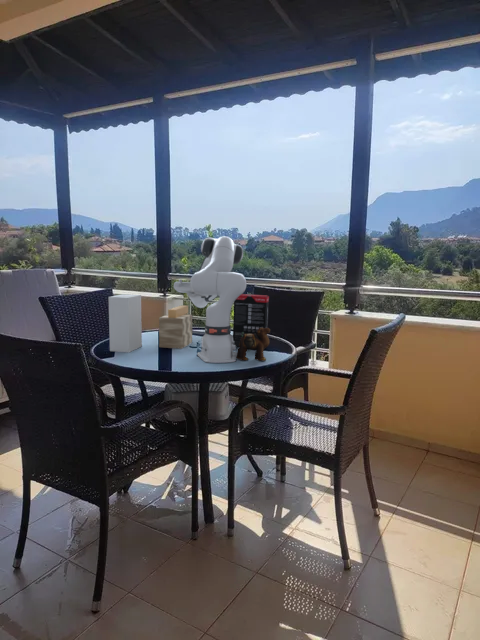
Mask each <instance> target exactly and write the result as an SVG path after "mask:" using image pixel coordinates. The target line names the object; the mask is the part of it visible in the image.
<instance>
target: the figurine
mask: <svg viewBox="0 0 480 640" xmlns="http://www.w3.org/2000/svg"><path fill="white" fill-rule="evenodd" d="M270 333H271V329H270V328H269V327H268V328H259V329H258V330H257V335H258V336H259V337H260V339H261V340H260V339H259V338H258V337H257V336H256V334H243V336H242V337H241V339H240V343H239V347H237V350H236V352H237V357H236V360H240V361H244V362H245V361H249V359H248V357H247V352H248V351H255V354H254V360H257V361H258V362H264V361H266V360H267V358H266V357H265V355H264V350H263V349H264V348H265V349H266V348H268V346H269V345H270V339H269V336H268V334H270Z"/></svg>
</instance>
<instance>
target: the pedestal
mask: <svg viewBox="0 0 480 640" xmlns="http://www.w3.org/2000/svg"><path fill="white" fill-rule="evenodd" d="M158 330H159V332H158V339H159V340H158V341H159V342H158V343H159V344H158V346H159V348H165V349H166V348H168V349H182V350H183V349H185V347H187V346H189V345H191V344H192V343H193V314H190V313H187V314H184V315H182V316H179V317H177V318H169V317H168V314H166V315H163V316H160V317H158Z"/></svg>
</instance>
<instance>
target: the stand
mask: <svg viewBox="0 0 480 640" xmlns="http://www.w3.org/2000/svg"><path fill="white" fill-rule="evenodd" d="M142 324H143V323H142V295H141V294H125V293H122V294H117V295H112V296H108V325H109V326H108V329H109V335H108V336H109V351H110V352H119V353H131V352H133V351H135V350H138V349H139V348H141V347H143V344H142V343H143V336H142V335H143V333H142V331H143V330H142V328H143V327H142Z"/></svg>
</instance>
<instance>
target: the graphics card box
mask: <svg viewBox="0 0 480 640" xmlns="http://www.w3.org/2000/svg"><path fill="white" fill-rule="evenodd" d="M269 300H270V296H269V295H267V294H266V295H263V294H247V293H246V294H244V293H243V294H241V295H240V296H239V297H238V298H237V299H236V300H235V301H234V303H233V318H232V319H233V324H232V337H233V341H234V344H233V345H236V348H239V343H240V339H241V337H242V336H243V334H256V336H257V337H258V338H259V339H260V337H259V336H258V335H257V330H258V329H259V328H269V327H268V323H269V302H270V301H269ZM260 340H261V339H260ZM264 350H266V348H264V349H263V351H264Z"/></svg>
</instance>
